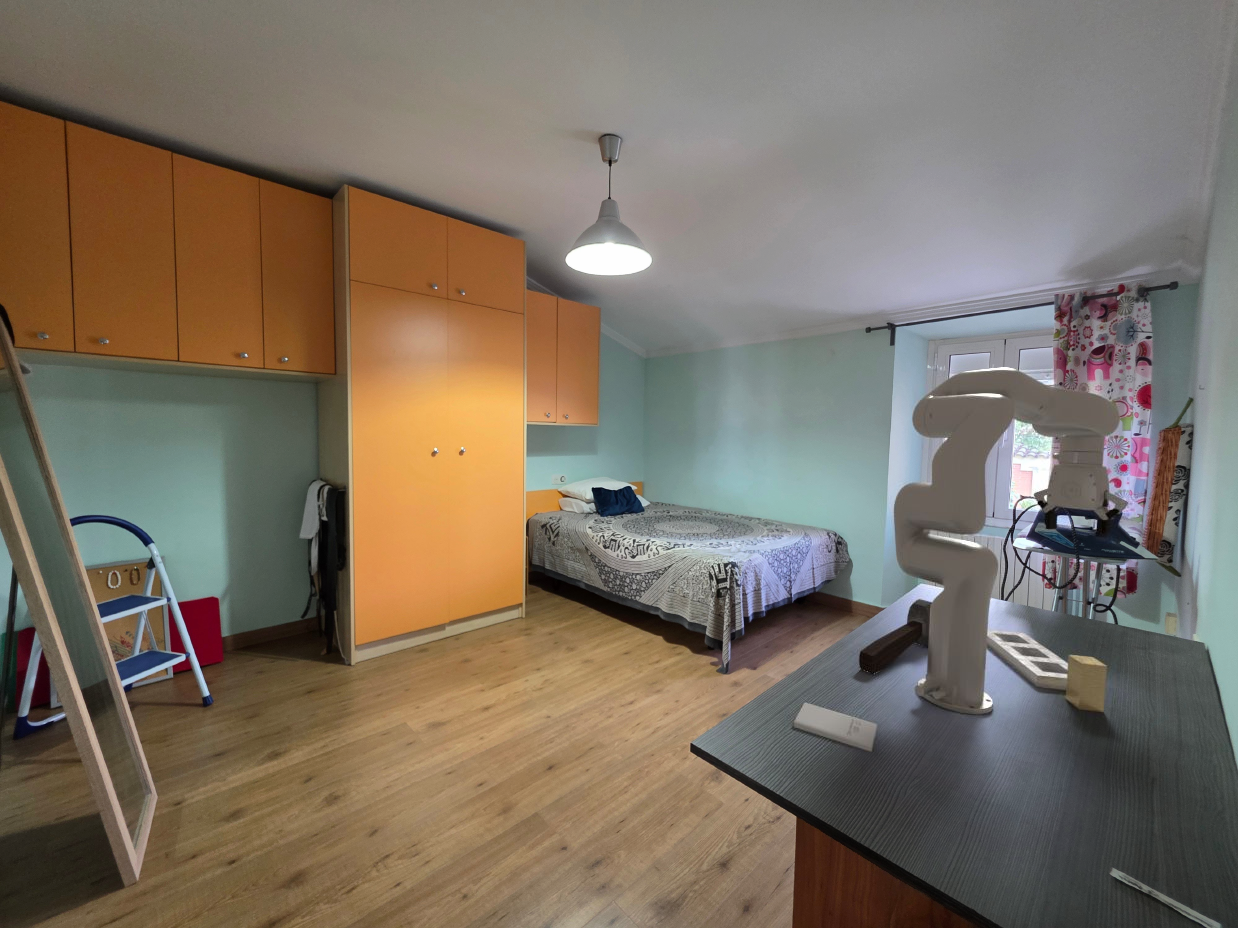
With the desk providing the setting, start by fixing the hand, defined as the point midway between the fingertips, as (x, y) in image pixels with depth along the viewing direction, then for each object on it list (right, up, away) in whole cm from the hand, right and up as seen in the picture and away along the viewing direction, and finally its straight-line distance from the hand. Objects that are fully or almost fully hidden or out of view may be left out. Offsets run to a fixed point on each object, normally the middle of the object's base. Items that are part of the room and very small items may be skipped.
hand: (1075, 532), depth 117 cm
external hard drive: (-68, -32, -28) cm, 80 cm away
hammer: (-40, -30, +2) cm, 50 cm away
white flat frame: (-11, -30, -1) cm, 32 cm away
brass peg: (-15, -31, -19) cm, 40 cm away
